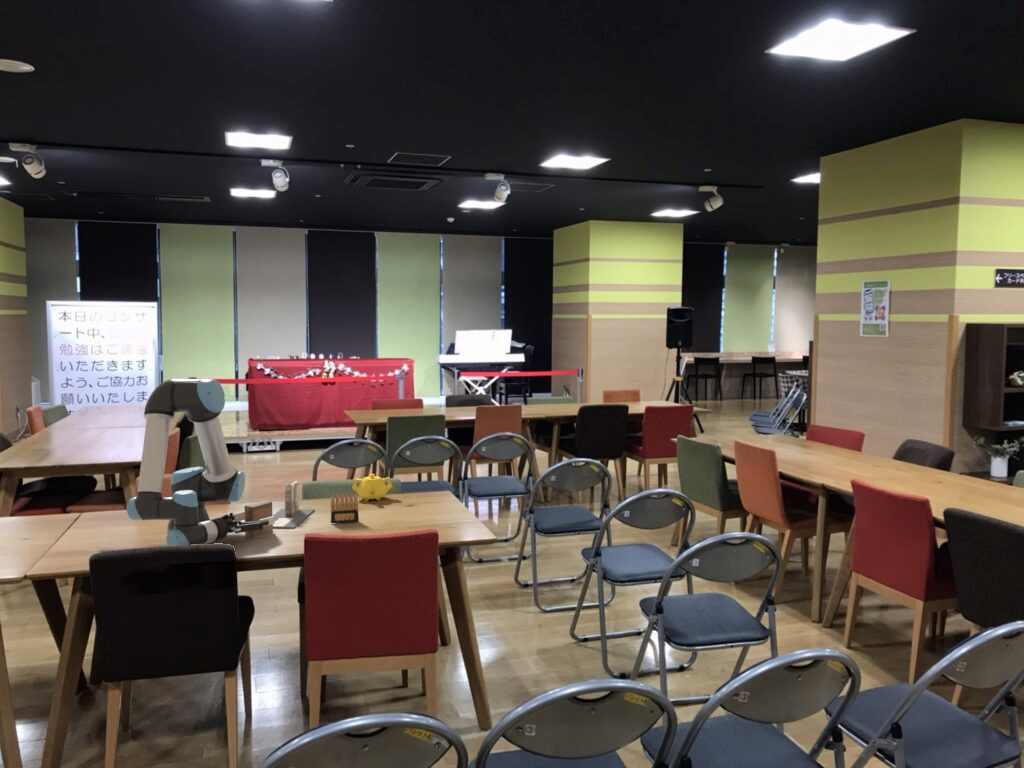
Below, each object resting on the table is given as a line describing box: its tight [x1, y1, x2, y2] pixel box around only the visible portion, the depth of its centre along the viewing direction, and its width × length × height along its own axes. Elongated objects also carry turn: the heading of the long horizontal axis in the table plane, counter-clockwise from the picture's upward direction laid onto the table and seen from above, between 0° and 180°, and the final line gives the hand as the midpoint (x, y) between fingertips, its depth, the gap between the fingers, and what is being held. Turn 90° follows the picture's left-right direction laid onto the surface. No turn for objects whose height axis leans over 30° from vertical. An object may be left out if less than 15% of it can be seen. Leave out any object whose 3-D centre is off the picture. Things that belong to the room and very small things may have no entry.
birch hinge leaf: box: [284, 480, 300, 517], centre depth 312 cm, size 12×3×13 cm, turn 178°
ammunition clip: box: [330, 491, 360, 524], centre depth 300 cm, size 11×2×12 cm, turn 107°
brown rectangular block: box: [244, 500, 274, 540], centre depth 283 cm, size 4×10×12 cm, turn 148°
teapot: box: [351, 473, 394, 502], centre depth 339 cm, size 20×18×11 cm
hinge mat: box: [273, 508, 316, 529], centre depth 306 cm, size 28×14×1 cm, turn 178°
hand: (261, 517), depth 283 cm, fingers open, 13 cm apart
